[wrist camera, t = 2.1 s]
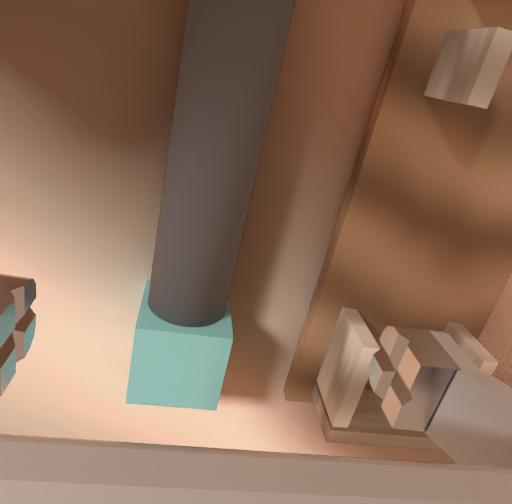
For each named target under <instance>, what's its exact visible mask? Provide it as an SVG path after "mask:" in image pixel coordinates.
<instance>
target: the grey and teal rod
mask: <svg viewBox="0 0 512 504" xmlns="http://www.w3.org/2000/svg"><path fill="white" fill-rule="evenodd" d="M294 4H295V0H189V3H188V10H187V18H186V25H185V32H184V40H183V47H182V54H181V62H180V69H179V76H178V84H177V91H176V98H175V106H174V113H173V120H172V128H171V135H170V142H169V150H168V157H167V164H166V172H165V179H164V186H163V193H162V201H161V208H160V215H159V223H158V230H157V237H156V245H155V252H154V259H153V267H152V274H151V280H147V283H146V287H145V291H144V295H143V299H142V303H141V307H140V311H139V315H138V319H137V323H136V327H135V335H134V343H133V351H132V358H131V366H130V374H129V382H128V390H127V398H126V403H129V404H142V405H154V406H167V407H179V408H192V409H204V410H216V409H217V405H218V401H219V397H220V393H221V389H222V385H223V380H224V376H225V372H226V368H227V364H228V360H229V356H230V351H231V347H232V343H233V330H232V320H231V311H230V301H229V293H230V288H231V284H232V280H233V275H234V271H235V266H236V262H237V257H238V253H239V248H240V244H241V240H242V235H243V231H244V226H245V222H246V217H247V213H248V208H249V204H250V200H251V195H252V191H253V186H254V182H255V177H256V173H257V168H258V164H259V160H260V155H261V151H262V146H263V142H264V137H265V133H266V128H267V124H268V119H269V115H270V111H271V106H272V102H273V97H274V93H275V88H276V84H277V79H278V75H279V71H280V66H281V62H282V57H283V53H284V48H285V44H286V39H287V35H288V31H289V26H290V22H291V17H292V13H293V8H294Z"/></svg>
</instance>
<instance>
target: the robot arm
mask: <svg viewBox="0 0 512 504" xmlns="http://www.w3.org/2000/svg"><path fill="white" fill-rule="evenodd" d="M35 298H36V283H35V281H34V279H31V278H25V277H18V276H11V275H4V274H0V396H2V394H3V393H4V391H5V389H6V388H7V386H8V384H9V383H10V381H11V379H12V378H13V376H14V374H15V373H16V362H17V361H19V360H21V359H23V358H25V356H26V354H27V352H28V351H29V349H30V346H31V343H32V340H33V337H34V332H35V325H36V315H35V313H34V312H33V311H32V309H31V308H30V305H31V304H32V302H33V301H34V300H35ZM379 341H380V343H381V346H382V348H381V349H379V350H378V351H377V352H376V353H374V354H373V356H372V359H371V362H370V365H369V380H370V385H371V387H372V389H373V391H374V393H376V394H377V395H378V396H379V397H381V398H382V399H383V402H382V405H381V407H382V409H383V411H384V413H385V415H386V417H387V419H388V421H389V423H390V425H391V427H392V428H395V429H404V430H413V431H422V432H426V433H425V434H426V435H427V436H428V437H429V438H430V439H432V440H433V441H434V442H435V443H436V444H437V445H438V446H439V447H440V448H441V449H442V450H443V451H444V452H445V453H446V454H447V455H448V456H449V457H450V458H451V459H452V460H454V461H455V462H456V463H457V464H447V463H432V462H417V461H401V460H386V459H371V458H356V457H341V456H326V455H311V454H296V453H281V452H266V451H251V450H236V449H221V448H206V447H191V446H176V445H161V444H146V443H131V442H116V441H101V440H86V439H71V438H56V437H41V436H26V435H11V434H0V504H512V387H510V386H508V385H507V384H505V383H503V382H502V381H500V380H498V379H496V378H495V377H493V376H491V375H490V374H485V373H482V371H481V370H480V369H479V368H478V367H477V366H476V365H475V363H474V362H473V361H472V360H471V359H470V358H469V357H468V355H467V354H466V353H465V352H464V351H463V350H462V349H461V347H460V346H459V345H458V344H457V343H456V342H455V341H454V339H453V338H452V337H451V336H450V335H449V334H448V333H445V332H443V331H434V330H423V329H413V328H404V327H394V326H387V327H386V328H385V329H384V330H383V332H382V334H381V337H380V339H379Z"/></svg>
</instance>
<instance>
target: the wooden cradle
mask: <svg viewBox="0 0 512 504" xmlns="http://www.w3.org/2000/svg"><path fill="white" fill-rule="evenodd" d="M511 273H512V0H407V3H406V6H405V9H404V12H403V16H402V19H401V22H400V25H399V28H398V31H397V34H396V38H395V41H394V44H393V47H392V50H391V53H390V56H389V60H388V63H387V66H386V69H385V72H384V75H383V78H382V82H381V85H380V88H379V91H378V94H377V97H376V101H375V104H374V107H373V110H372V113H371V116H370V119H369V123H368V126H367V129H366V132H365V135H364V138H363V141H362V145H361V148H360V151H359V154H358V157H357V160H356V163H355V167H354V170H353V173H352V176H351V179H350V182H349V185H348V189H347V192H346V195H345V198H344V201H343V204H342V207H341V211H340V214H339V217H338V220H337V223H336V226H335V230H334V233H333V236H332V239H331V242H330V245H329V248H328V252H327V255H326V258H325V261H324V264H323V267H322V270H321V274H320V277H319V280H318V283H317V286H316V289H315V292H314V296H313V299H312V302H311V305H310V308H309V311H308V314H307V318H306V321H305V324H304V327H303V330H302V333H301V336H300V340H299V343H298V346H297V349H296V352H295V355H294V358H293V362H292V365H291V368H290V371H289V374H288V377H287V381H286V384H285V387H284V394H285V399H286V400H288V401H300V402H311V403H314V404H315V408H316V411H317V414H318V417H319V421H320V424H321V427H322V430H323V433H324V437H325V440H326V442H332V443H346V444H361V445H375V446H389V447H403V448H418V449H432V450H442V449H441V448H440V447H439V446H438V445H437V444H436V443H435V442H434V441H433V440H432V439H430V438H429V437H428V436H427V435H426V434H425V433H426V432H422V431H413V430H404V429H395V428H392V427H391V425H390V423H389V421H388V419H387V417H386V415H385V413H384V411H383V409H382V407H381V405H382V402H383V399H382V398H381V397H379V396H378V395H377V394H376V393H374V391H373V389H372V387H371V385H370V380H369V365H370V362H371V359H372V356H373V354H374V353H376V352H377V351H378V350H379V349H381V348H382V346H381V343H380V341H379V339H380V337H381V334H382V332H383V330H384V329H385V328H386V327H387V326H394V327H404V328H413V329H423V330H434V331H443V332H445V333H448V334H449V335H450V336H451V337H452V338H453V339H454V341H455V342H456V343H457V344H458V345H459V346H460V347H461V349H462V350H463V351H464V352H465V353H466V354H467V355H468V357H469V358H470V359H471V360H472V361H473V362H474V363H475V365H476V366H477V367H478V368H479V369H480V370H481V371H482V373H485V374H490V375H491V376H492V374H493V372H494V371H495V369H496V367H497V365H498V364H499V363H498V362H497V361H496V359H495V358H494V357H493V356H492V355H491V354H490V353H489V352H488V351H487V350H486V349H485V348H484V347H483V346H482V345H481V344H480V343H479V341H478V340H477V338H478V336H479V334H480V333H481V331H482V329H483V327H484V325H485V323H486V321H487V319H488V317H489V315H490V313H491V312H492V310H493V308H494V306H495V304H496V302H497V300H498V298H499V296H500V294H501V292H502V290H503V289H504V287H505V285H506V283H507V281H508V279H509V277H510V275H511Z"/></svg>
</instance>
